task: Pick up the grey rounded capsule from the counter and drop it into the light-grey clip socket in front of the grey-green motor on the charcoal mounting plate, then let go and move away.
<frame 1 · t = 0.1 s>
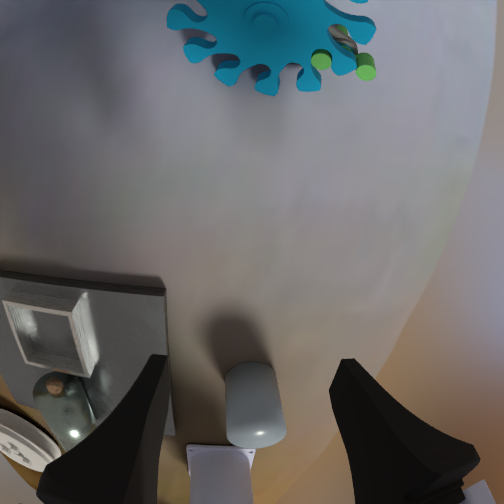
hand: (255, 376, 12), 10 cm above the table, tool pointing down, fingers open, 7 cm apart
grey rounded capsule: (250, 379, 26), on the table
teal bumpy piece: (267, 37, 15), on the table
lid: (25, 429, 31), on the table
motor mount: (67, 360, 24), on the table
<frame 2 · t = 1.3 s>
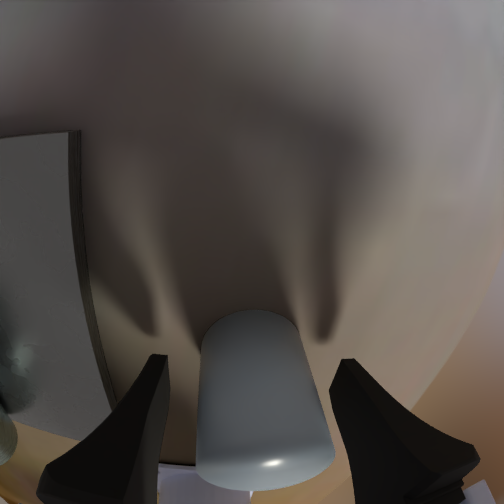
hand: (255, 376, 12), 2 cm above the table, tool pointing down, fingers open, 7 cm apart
grey rounded capsule: (251, 350, 14), on the table
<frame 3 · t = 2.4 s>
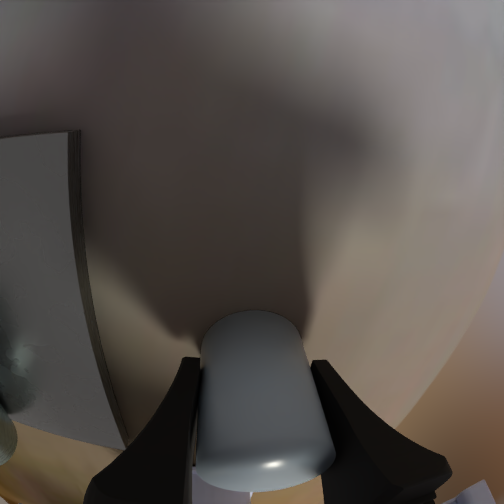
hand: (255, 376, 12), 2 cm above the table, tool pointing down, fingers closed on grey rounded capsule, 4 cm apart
grey rounded capsule: (251, 350, 14), on the table, touching gripper
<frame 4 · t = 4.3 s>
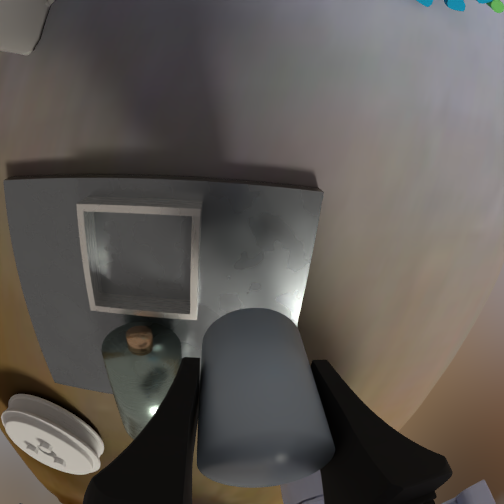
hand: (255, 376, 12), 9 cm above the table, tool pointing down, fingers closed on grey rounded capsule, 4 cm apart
grey rounded capsule: (251, 347, 14), point 7 cm above the table, touching gripper
lid: (57, 422, 27), on the table
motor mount: (150, 307, 21), on the table
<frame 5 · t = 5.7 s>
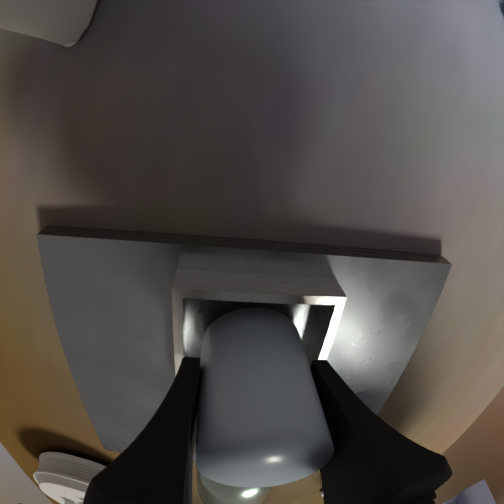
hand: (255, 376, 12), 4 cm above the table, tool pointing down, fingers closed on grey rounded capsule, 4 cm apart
grey rounded capsule: (251, 347, 14), point 2 cm above the table, touching gripper
lid: (95, 472, 24), on the table
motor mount: (240, 383, 17), on the table
when the fingers open (3 cm above the table, at t = 6.6 s): grey rounded capsule stays where it is, resting on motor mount.
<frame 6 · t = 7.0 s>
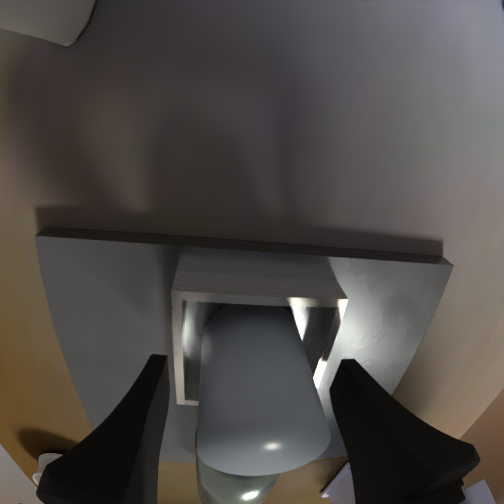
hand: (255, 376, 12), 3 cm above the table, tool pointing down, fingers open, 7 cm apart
grey rounded capsule: (250, 339, 14), point 1 cm above the table, touching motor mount
lid: (94, 474, 24), on the table
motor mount: (240, 385, 17), on the table
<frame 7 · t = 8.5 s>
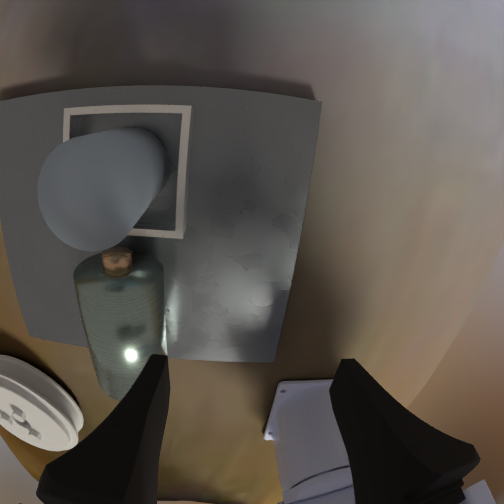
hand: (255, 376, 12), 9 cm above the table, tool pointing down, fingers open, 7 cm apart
grey rounded capsule: (128, 167, 16), point 1 cm above the table, touching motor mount
lid: (35, 391, 25), on the table
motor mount: (133, 235, 18), on the table
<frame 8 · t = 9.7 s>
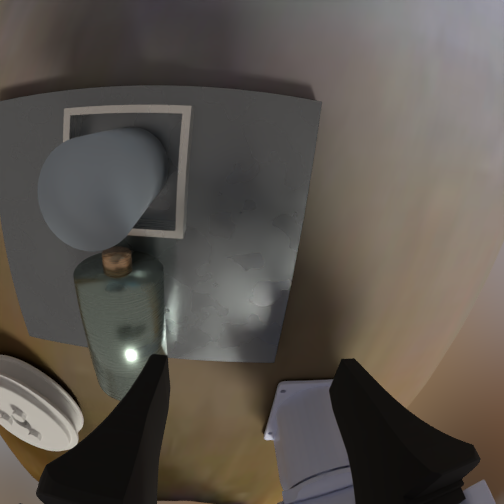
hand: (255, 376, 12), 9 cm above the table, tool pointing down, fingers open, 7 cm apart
grey rounded capsule: (128, 167, 16), point 1 cm above the table, touching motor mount
lid: (35, 391, 25), on the table
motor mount: (133, 235, 18), on the table
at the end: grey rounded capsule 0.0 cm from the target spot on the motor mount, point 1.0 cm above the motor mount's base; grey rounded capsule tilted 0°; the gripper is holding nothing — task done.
